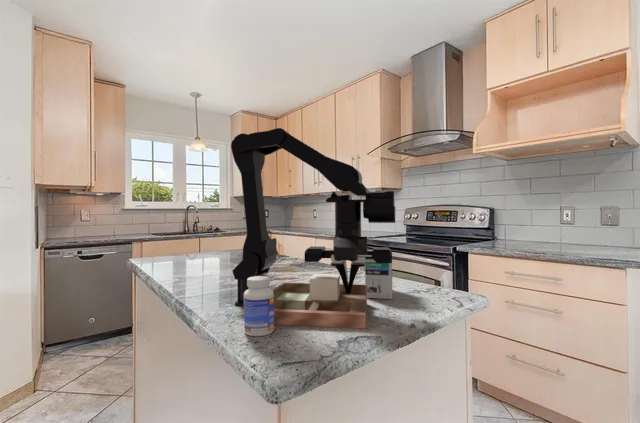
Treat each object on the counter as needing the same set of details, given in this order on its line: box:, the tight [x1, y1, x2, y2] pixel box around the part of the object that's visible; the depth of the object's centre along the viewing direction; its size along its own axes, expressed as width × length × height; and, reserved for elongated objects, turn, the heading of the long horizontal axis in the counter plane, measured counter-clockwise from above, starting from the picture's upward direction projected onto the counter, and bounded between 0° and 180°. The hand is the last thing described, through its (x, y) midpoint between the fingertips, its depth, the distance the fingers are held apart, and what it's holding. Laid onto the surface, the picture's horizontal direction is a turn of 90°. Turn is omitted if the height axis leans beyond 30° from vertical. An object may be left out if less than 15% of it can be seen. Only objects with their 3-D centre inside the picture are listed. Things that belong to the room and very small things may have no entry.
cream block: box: [309, 273, 341, 301], centre depth 74 cm, size 6×6×4 cm
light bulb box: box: [364, 249, 393, 300], centre depth 86 cm, size 11×7×11 cm, turn 168°
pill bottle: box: [243, 276, 275, 337], centre depth 60 cm, size 5×5×10 cm
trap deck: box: [272, 282, 368, 329], centre depth 71 cm, size 20×16×4 cm
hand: (348, 293), depth 73 cm, fingers closed
